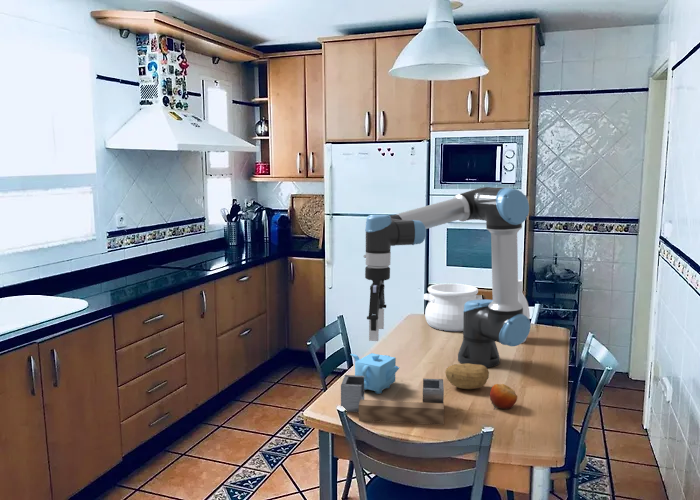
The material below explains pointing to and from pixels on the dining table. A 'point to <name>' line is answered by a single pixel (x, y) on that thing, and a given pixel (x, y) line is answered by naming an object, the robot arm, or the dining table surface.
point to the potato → (467, 375)
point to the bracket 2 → (433, 391)
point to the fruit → (503, 396)
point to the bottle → (523, 301)
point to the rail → (401, 412)
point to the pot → (448, 305)
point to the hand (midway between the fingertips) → (376, 334)
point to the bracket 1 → (352, 392)
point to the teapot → (376, 371)
